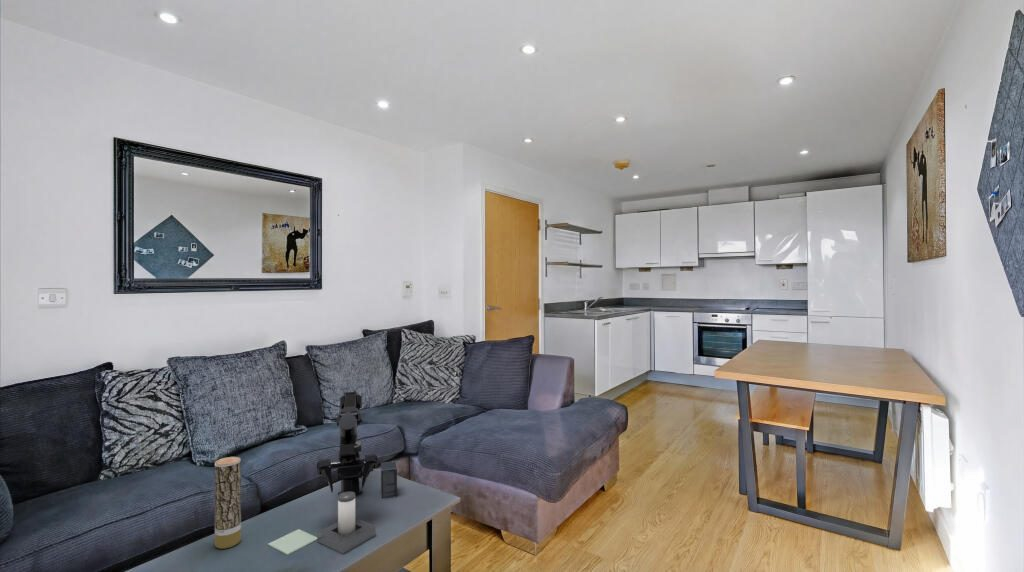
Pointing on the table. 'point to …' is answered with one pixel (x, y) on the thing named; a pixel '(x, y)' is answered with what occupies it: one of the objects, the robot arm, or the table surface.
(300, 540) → the mat
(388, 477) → the box
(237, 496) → the bark textured cylinder
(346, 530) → the plug
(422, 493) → the table surface
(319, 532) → the frame
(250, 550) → the table surface
